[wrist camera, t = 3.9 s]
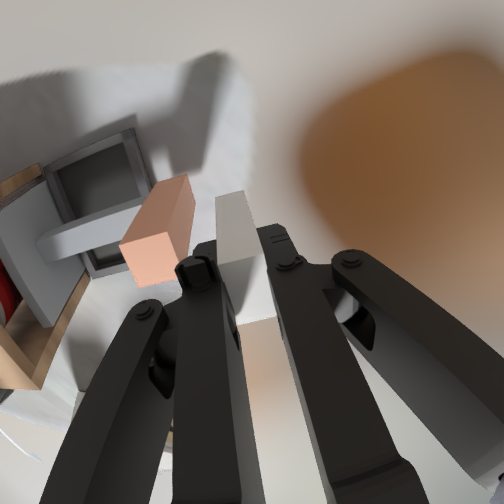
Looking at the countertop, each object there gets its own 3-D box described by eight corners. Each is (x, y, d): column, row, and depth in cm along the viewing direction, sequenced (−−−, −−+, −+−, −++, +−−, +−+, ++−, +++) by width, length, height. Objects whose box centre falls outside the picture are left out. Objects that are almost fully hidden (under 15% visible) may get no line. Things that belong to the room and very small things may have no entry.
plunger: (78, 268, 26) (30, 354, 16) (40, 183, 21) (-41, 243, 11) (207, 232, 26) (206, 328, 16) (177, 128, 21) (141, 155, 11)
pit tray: (96, 272, 27) (92, 279, 26) (49, 164, 21) (43, 167, 20) (175, 251, 27) (173, 258, 26) (133, 127, 21) (129, 129, 20)
